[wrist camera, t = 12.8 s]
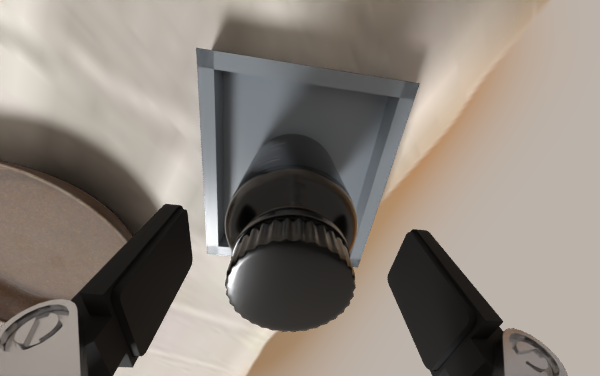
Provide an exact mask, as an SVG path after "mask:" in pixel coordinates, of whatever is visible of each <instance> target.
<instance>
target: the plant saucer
mask: <svg viewBox="0 0 600 376" xmlns="http://www.w3.org/2000/svg"><path fill="white" fill-rule="evenodd" d="M132 237H133V236H132V235H131V233H130V232H129V230H128V229H127V228H126V226H125V225H124V224H123V223H122V222H121V221H120V219H119V218H118V217H117V216H116V215H115V214H114V213H113V212H111V211H110V210H109V209H108V208H107V207H105V206H104V205H103V204H102V203H100V202H99V201H98V200H96V199H95V198H93V197H92V196H90V195H89V194H87V193H86V192H84V191H82V190H80V189H79V188H77V187H75V186H73V185H71V184H69V183H67V182H65V181H63V180H60V179H58V178H55V177H53V176H50V175H48V174H45V173H43V172H40V171H37V170H34V169H30V168H27V167H23V166H20V165H16V164H12V163H8V162H3V161H0V322H2V323H6V322H7V321H9V320H10V319H11V318H12V317H14V316H16V315H17V314H19V313H20V312H22V311H24V310H25V309H28V308H30V307H32V306H34V305H37V304H39V303H43V302H46V301H50V300H57V299H65V300H71V299H72V298H73V297H74V296H75V295H76V294H77V293H78V292H79V291H80V290H81V289H82V288H83V287H84V286H85V285H86V284H87V283H88V282H89V281H90V280H91V279H92V278H93V277H94V276H95V275H96V274H97V273H98V272H99V271H100V269H101V268H102V267H103V266H104V265H105V264H106V263H107V262H108V261H109V260H110V259H111V258H112V257H113V256H114V255H115V254H116V253H117V252H118V251H119V250H120V249H121V248H122V247H123V246H124V245H125V244H126V243H127V242H128V241H129V240H130V239H131V238H132Z"/></svg>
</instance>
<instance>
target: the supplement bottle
mask: <svg viewBox="0 0 600 376" xmlns="http://www.w3.org/2000/svg"><path fill="white" fill-rule="evenodd" d="M357 230H358V220H357V214H356V210H355V207H354V204H353V202H352V199H351V197H350V195H349V193H348V191H347V189H346V187H345V185H344V183H343V181H342V179H341V177H340V175H339V173H338V171H337V169H336V167H335V165H334V163H333V161H332V159H331V157H330V155H329V154H328V152H327V151H326V149H325V148H324V147H323V146H322V145H321V144H320V143H318V142H317V141H316V140H314V139H312V138H310V137H308V136H304V135H300V134H284V135H280V136H277V137H275V138H273V139H271V140H269V141H268V142H266V143H265V144H264V145H263V146H262V147H261V148H260V149H259V150H258V152H257V153H256V155H255V157H254V158H253V160H252V162H251V164H250V165H249V167H248V169H247V171H246V173H245V175H244V177H243V178H242V180H241V182H240V184H239V186H238V188H237V189H236V191H235V193H234V195H233V197H232V199H231V201H230V204H229V206H228V209H227V212H226V217H225V234H226V238H227V242H228V245H229V247H230V249H231V251H232V255H231V262H230V264H229V267H228V270H227V278H226V281H225V286H226V288H227V291H226V295H227V296H228V297H229V299H230V304H231V305H233V306H234V309H235V311H236V312H238V313H239V314H241V316H242V317H243V318H245V319H247V320H249V321H250V322H251V323H253V324H257V325H259V326H260V327H262V328H268V329H270V330H279V331H282V332H286V331H292V332H296V331H306V330H308V329H312V328H317V327H319V326H320V325H324V324H327V323H328V322H329V321H331V320H334V319H336V318H337V316H338V315H339V314H341V313H343V312H344V309H345V308H346V307H347V306H349V304H350V300H351V299H352V298H353V296H354V294H353V291H354V289H355V273H354V270H353V267H352V264H351V260H350V252H351V250H352V248H353V246H354V243H355V240H356V236H357Z"/></svg>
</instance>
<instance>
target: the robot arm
mask: <svg viewBox="0 0 600 376" xmlns="http://www.w3.org/2000/svg"><path fill="white" fill-rule="evenodd" d="M191 265H192V249H191V240H190V232H189V223H188V214H187V210H184V209H183V207H182V206H181V205H171V204H165V205H164V206H163V207H162V208H161V209H160V210H159V211H158V212H157V213H156V214H155V215H154V216H153V217H152V218H151V219H150V220H149V221H148V222H147V223H146V224H145V225H144V226H143V227H142V228H141V229H140V230H139V231H138V232H137V234H136V235H135V236H133V237H132V238H131V239H130V240H129V241H128V242H127V243H126V244H125V245H124V246H123V247H122V248H121V249H120V250H119V251H118V252H117V253H116V254H115V255H114V256H113V257H112V258H111V259H110V260H109V261H108V262H107V263H106V264H105V265H104V266H103V267H102V268H101V269H100V271H99V272H98V273H97V274H96V275H95V276H94V277H93V278H92V279H91V280H90V281H89V282H88V283H87V284H86V285H85V286H84V287H83V288H82V289H81V290H80V291H79V292H78V293H77V294H76V295H75V296H74V297H73V298H72V299H71V300H65V299H57V300H50V301H46V302H43V303H39V304H37V305H34V306H32V307H30V308H28V309H25V310H24V311H22V312H20V313H19V314H17V315H16V316H14V317H12V318H11V319H10V320H9V321H7V322H6V323H5V324H4V325H2V326H1V327H0V376H113V375H114V373H115V371H116V369H117V368H118V367H133V366H134V364H135V362H136V360H137V358H138V357H139V356H143V355H144V354H145V353H146V351H147V349H148V347H149V346H150V344H151V342H152V340H153V338H154V336H155V334H156V332H157V330H158V328H159V327H160V325H161V323H162V321H163V319H164V317H165V315H166V313H167V311H168V309H169V308H170V306H171V304H172V302H173V300H174V298H175V296H176V294H177V292H178V290H179V288H180V287H181V285H182V283H183V281H184V279H185V277H186V275H187V273H188V271H189V269H190V267H191ZM388 283H389V286H390V288H391V290H392V292H393V295H394V297H395V299H396V302H397V304H398V306H399V308H400V310H401V313H402V315H403V318H404V320H405V322H406V324H407V327H408V329H409V331H410V333H411V336H412V338H413V340H414V342H415V345H416V347H417V349H418V352H419V354H420V356H421V358H422V361H423V363H424V365H425V366H426V368H428V369H429V370H430V371H431V374H432V376H568V375H567V372H566V370H565V368H564V366H563V364H562V363H561V362H560V360H559V359H558V358H557V356H556V355H555V354H554V353H553V352H552V351H551V350H550V349H549V348H548V347H546V346H545V345H544V344H543V343H542V342H540V341H539V340H537V339H536V338H534V337H533V336H531V335H530V334H527V333H525V332H523V331H521V330H517V329H514V328H512V329H506V330H505V331H502V329H501V328H500V327H499V326H500V325H501V324H502V323H503V321H502V319H501V318H500V317H499V316H498V315H497V313H496V312H495V311H494V310H493V309H492V307H491V306H490V305H489V304H488V303H487V301H486V300H485V299H484V298H483V297H482V295H481V294H480V293H479V292H478V291H477V289H476V288H475V287H474V286H473V284H472V283H471V282H470V281H469V280H468V279H467V277H466V276H465V275H464V274H463V272H462V271H461V270H460V269H459V268H458V266H457V265H456V264H455V263H454V262H453V260H452V259H451V258H450V257H449V256H448V254H447V253H446V252H445V251H444V250H443V248H442V247H441V246H440V245H439V244H438V242H437V241H436V240H435V239H434V237H433V236H432V235H431V234H430V233H429V232H428V231H425V230H414V229H413V230H412V231H411V232H409V233H407V234H406V236H405V239H404V241H403V243H402V245H401V247H400V250H399V252H398V255H397V256H396V258H395V261H394V263H393V265H392V267H391V269H390V271H389V274H388Z"/></svg>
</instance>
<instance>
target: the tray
mask: <svg viewBox="0 0 600 376" xmlns="http://www.w3.org/2000/svg"><path fill="white" fill-rule="evenodd" d="M196 53H197V72H198V91H199V110H200V128H201V147H202V166H203V185H204V204H205V223H206V242H207V254H211V255H222V256H231V255H232V251H231V249H230V247H229V245H228V242H227V238H226V234H225V217H226V212H227V209H228V206H229V204H230V201H231V199H232V197H233V195H234V193H235V191H236V189H237V188H238V186H239V184H240V182H241V180H242V178H243V177H244V175H245V173H246V171H247V169H248V167H249V165H250V164H251V162H252V160H253V158H254V157H255V155H256V153H257V152H258V150H259V149H260V148H261V147H262V146H263V145H264V144H265V143H266V142H268V141H269V140H271V139H273V138H275V137H277V136H280V135H284V134H300V135H304V136H308V137H310V138H312V139H314V140H316V141H317V142H318V143H320V144H321V145H322V146H323V147H324V148H325V149H326V151H327V152H328V154H329V155H330V157H331V159H332V161H333V163H334V165H335V167H336V169H337V171H338V173H339V175H340V177H341V179H342V181H343V183H344V185H345V187H346V189H347V191H348V193H349V195H350V197H351V199H352V202H353V204H354V207H355V210H356V214H357V220H358V230H357V236H356V240H355V243H354V246H353V248H352V250H351V252H350V260H351V264H352V267H358V265H359V262H360V259H361V256H362V253H363V251H364V247H365V244H366V241H367V238H368V236H369V233H370V230H371V227H372V223H373V221H374V218H375V215H376V212H377V209H378V206H379V203H380V200H381V197H382V194H383V191H384V188H385V185H386V182H387V179H388V176H389V173H390V170H391V167H392V164H393V161H394V158H395V155H396V152H397V149H398V146H399V143H400V140H401V137H402V134H403V131H404V129H405V126H406V123H407V120H408V117H409V114H410V111H411V108H412V105H413V102H414V99H415V96H416V93H417V90H418V87H419V83H413V82H407V81H400V80H394V79H388V78H382V77H375V76H369V75H363V74H357V73H350V72H344V71H338V70H332V69H325V68H319V67H313V66H307V65H300V64H294V63H288V62H282V61H276V60H269V59H263V58H257V57H251V56H244V55H238V54H232V53H226V52H219V51H213V50H207V49H201V48H196Z"/></svg>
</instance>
